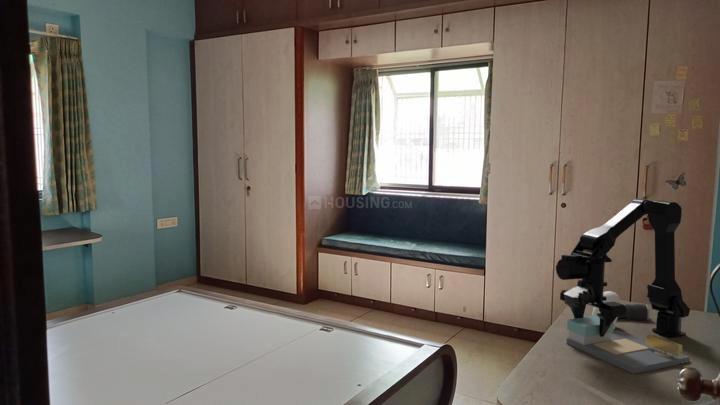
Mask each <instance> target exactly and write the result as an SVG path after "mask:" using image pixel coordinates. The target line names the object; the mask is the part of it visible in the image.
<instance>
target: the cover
mask: <svg viewBox="0 0 720 405" xmlns="http://www.w3.org/2000/svg"><path fill="white" fill-rule="evenodd" d="M566 326H567V327H566V330H568V331H569V330H570V331H572V332H575V333H577V334H580V335H582V336H584V337H587V336H594V335H600V318H599V317H597V316H592V315H590V316H585V317H583V318H576V319H574V318H569V319H567V324H566ZM613 331H615V329H614V323H612V324H611V326H610V327H609V329H608V330H607V332H606V333H613Z"/></svg>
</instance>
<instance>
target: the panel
mask: <svg viewBox="0 0 720 405" xmlns="http://www.w3.org/2000/svg"><path fill="white" fill-rule="evenodd" d="M646 342H647V339H646V340H645V339H644V338H640V337H638V336H635V335H632V334H630V333H627V332H625V331H622V330H620V329H617V330H613V333H606V334H605V335H604V337H600V335H594V336H587V337H584V336H582V335H580V334H577V333H575V332H572V331H570V330H568V337H566V342H565V343H566V345H570V346H571V347H573V348H576V349H578V350H580V351H582V352H584V353H587V354H589V355H591V356H593V357H596V358H598V359H600V360H601V361H605V362H606V363H609V364H611V365H613V366H615V367H618V368H620V369H622V370H624V371H625V372H628V373H631V374H632V375H635V374H638V373H644V372H648V371H655V370H659V369H660V370H661V369H665V368H670V367H673V365H674V366H676V365H677V364H678V365H681V364H680V363H682V362H685V363H687V362H686V361H689V362H690V356H689V355H685V354H683V353H682V356H679V357H677V356H675V355H672V354H670V353H667V354H661V353H659V349H657V348H654V347H651V346H649V345H646ZM682 364H683V363H682ZM669 366H670V367H669Z"/></svg>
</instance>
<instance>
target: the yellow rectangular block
mask: <svg viewBox="0 0 720 405" xmlns="http://www.w3.org/2000/svg"><path fill="white" fill-rule="evenodd" d="M646 341H647V342H646V345H649V346H651V347H654V348H657V349H659V353H661V354H667V353H670V354H672V355H675V356H677V357H679V356H682V354H683V344H680V343H677V342H674V341H671V340H668V339H666V338H663V337H660V336H658V335H655V334H653V333H648V334H646Z"/></svg>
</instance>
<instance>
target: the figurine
mask: <svg viewBox="0 0 720 405" xmlns="http://www.w3.org/2000/svg"><path fill="white" fill-rule="evenodd" d="M603 296H605V297H606V300H605V301H603V302H604V303H606V302H613V301H614V302H617V303H620V304H621V300H620V299H621V298H620V296H619V295H618V294H617V293H616V292H614V291H610V290H608V291H607V290H606V291H603ZM599 313H600V311H599V308H597V307H594V306H593V309H592V313H591V316H597V314H599ZM597 317H598V316H597ZM618 319H619V318H618V317H617V318H616V319H615V320H614V321H613V323H614V330H615V329H616V326H617V321H618Z"/></svg>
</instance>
